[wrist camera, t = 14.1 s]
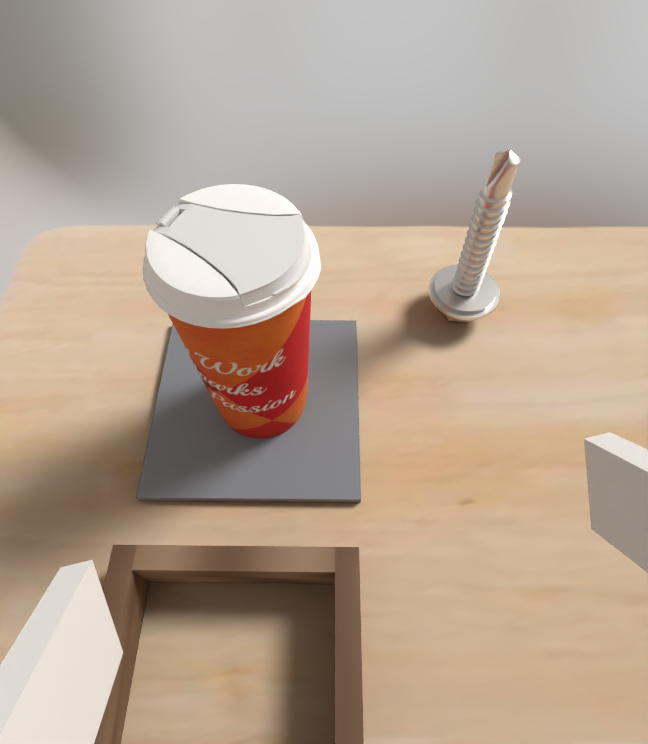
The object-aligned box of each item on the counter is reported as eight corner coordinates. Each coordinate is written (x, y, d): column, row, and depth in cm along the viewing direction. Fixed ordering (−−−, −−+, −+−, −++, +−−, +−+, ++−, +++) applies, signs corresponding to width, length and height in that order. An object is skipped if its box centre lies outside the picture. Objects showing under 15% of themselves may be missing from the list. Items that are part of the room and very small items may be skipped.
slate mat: (355, 324, 37) (356, 320, 37) (360, 502, 30) (360, 499, 30) (175, 324, 38) (173, 319, 37) (138, 500, 31) (136, 497, 30)
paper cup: (179, 424, 33) (93, 267, 21) (242, 335, 36) (200, 158, 24) (289, 476, 31) (263, 336, 19) (344, 377, 34) (351, 207, 23)
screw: (492, 339, 37) (423, 332, 37) (490, 287, 39) (426, 281, 40) (562, 184, 26) (463, 175, 26) (553, 126, 28) (463, 119, 29)
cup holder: (356, 561, 29) (358, 547, 26) (362, 865, 22) (366, 886, 19) (132, 558, 29) (113, 544, 26) (71, 860, 22) (38, 880, 20)
